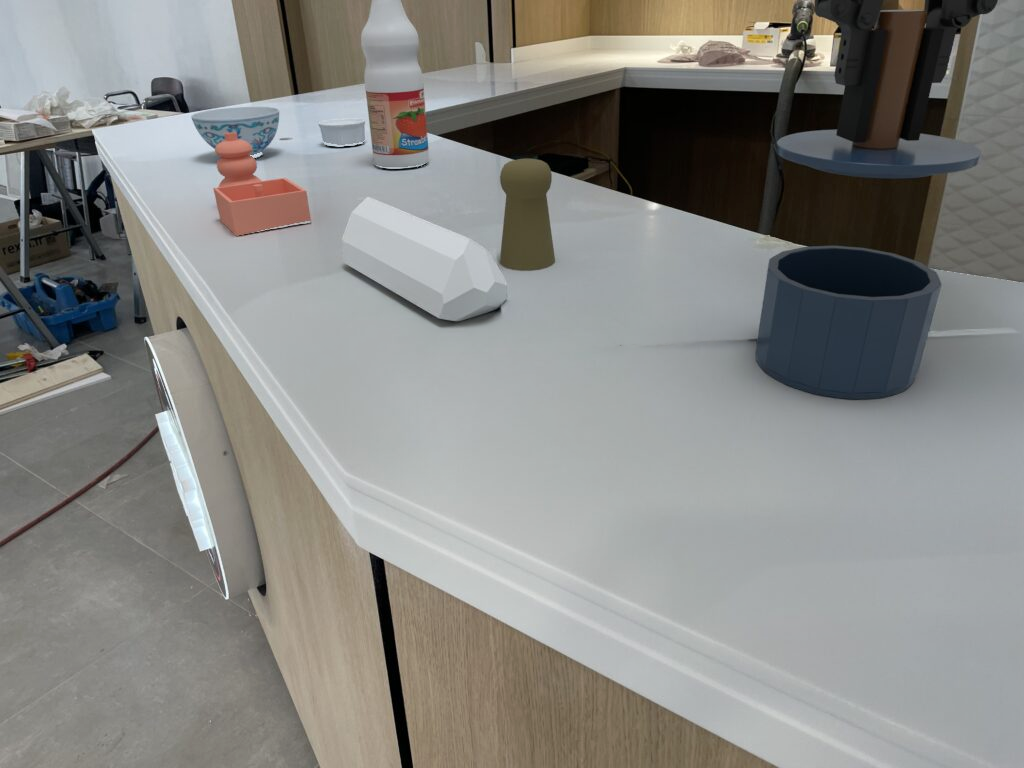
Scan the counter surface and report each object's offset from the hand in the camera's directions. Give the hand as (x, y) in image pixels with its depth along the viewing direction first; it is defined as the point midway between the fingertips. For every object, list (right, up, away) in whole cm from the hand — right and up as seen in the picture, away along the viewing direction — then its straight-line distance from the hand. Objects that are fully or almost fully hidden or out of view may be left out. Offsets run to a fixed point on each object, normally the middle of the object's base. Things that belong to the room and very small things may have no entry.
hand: (876, 136), depth 48 cm
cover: (0, -1, +1) cm, 1 cm away
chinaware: (-73, +25, +86) cm, 116 cm away
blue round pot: (+1, -15, +8) cm, 17 cm away
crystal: (-33, -7, +25) cm, 42 cm away
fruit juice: (-43, +21, +76) cm, 90 cm away
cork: (-23, -4, +29) cm, 37 cm away
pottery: (-59, +7, +51) cm, 78 cm away
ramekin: (-57, +30, +94) cm, 114 cm away
